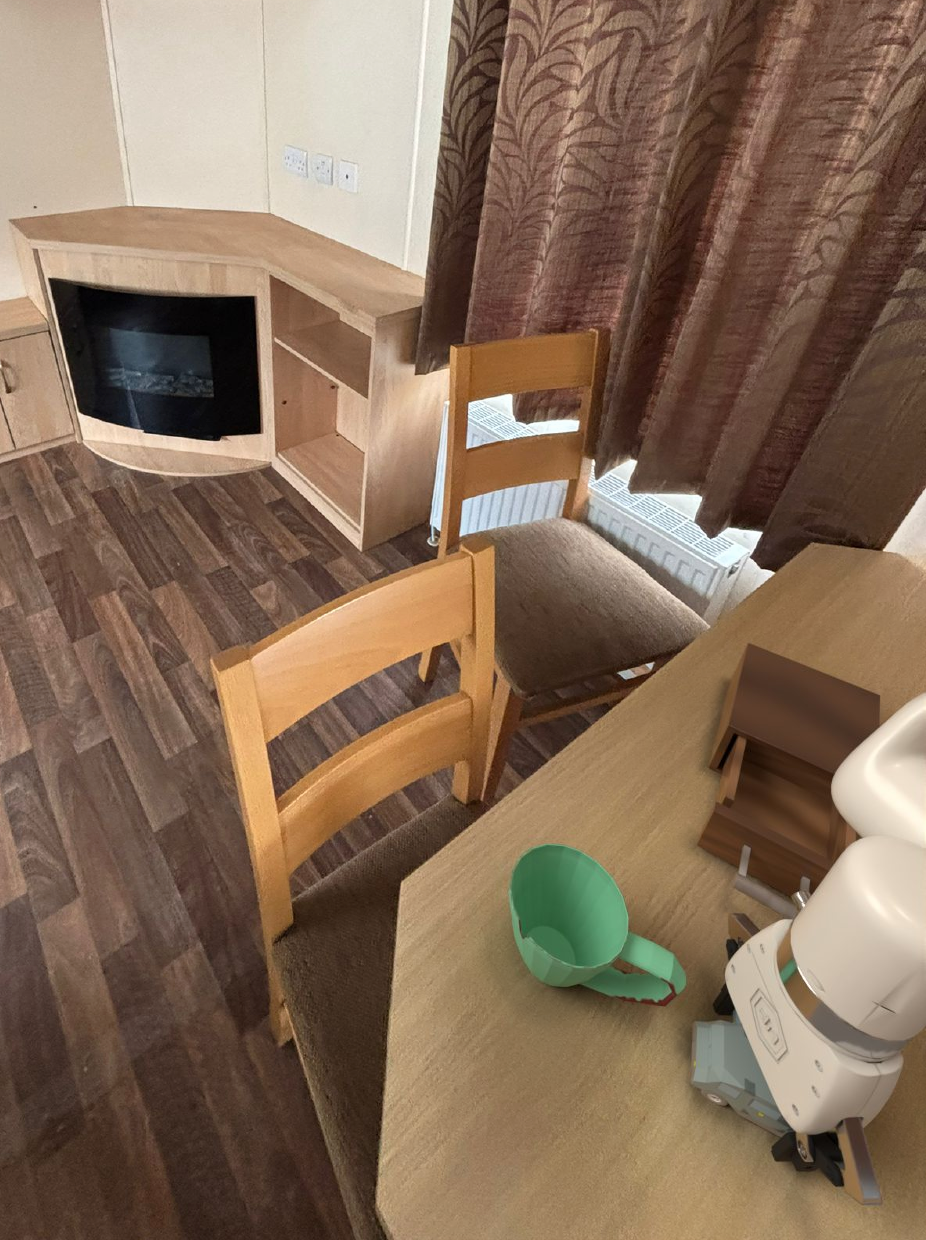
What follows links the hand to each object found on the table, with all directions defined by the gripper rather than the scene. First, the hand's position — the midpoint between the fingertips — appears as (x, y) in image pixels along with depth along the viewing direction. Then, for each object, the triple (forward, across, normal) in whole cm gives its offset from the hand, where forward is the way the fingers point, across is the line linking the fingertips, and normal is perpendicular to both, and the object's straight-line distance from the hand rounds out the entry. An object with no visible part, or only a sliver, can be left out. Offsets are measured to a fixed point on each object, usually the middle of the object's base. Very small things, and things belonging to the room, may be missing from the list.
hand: (759, 1077), depth 55 cm
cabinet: (+1, -30, +19) cm, 35 cm away
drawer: (0, -18, +11) cm, 22 cm away
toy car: (+1, 0, 0) cm, 1 cm away
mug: (+2, -8, -12) cm, 15 cm away
